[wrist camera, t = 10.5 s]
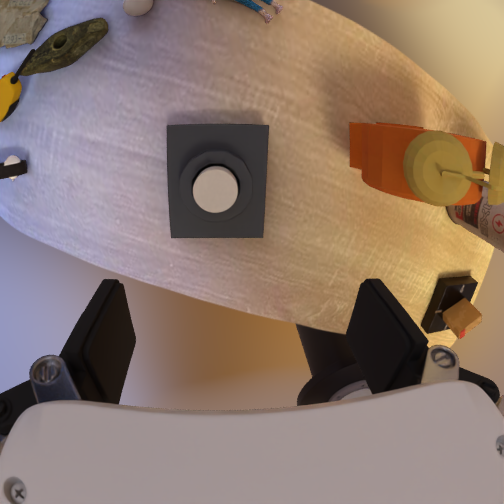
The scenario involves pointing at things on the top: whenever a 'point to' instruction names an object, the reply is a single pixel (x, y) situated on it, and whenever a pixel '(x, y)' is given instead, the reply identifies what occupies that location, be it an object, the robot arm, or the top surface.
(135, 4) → the chess piece
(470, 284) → the panel
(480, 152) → the alarm clock
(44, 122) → the top surface
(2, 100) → the walkie talkie
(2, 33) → the stone
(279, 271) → the top surface
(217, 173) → the white push button
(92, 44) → the decorative stone
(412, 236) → the top surface
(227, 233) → the dark grey button base
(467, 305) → the knob
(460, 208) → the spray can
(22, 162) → the watch
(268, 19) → the figurine
